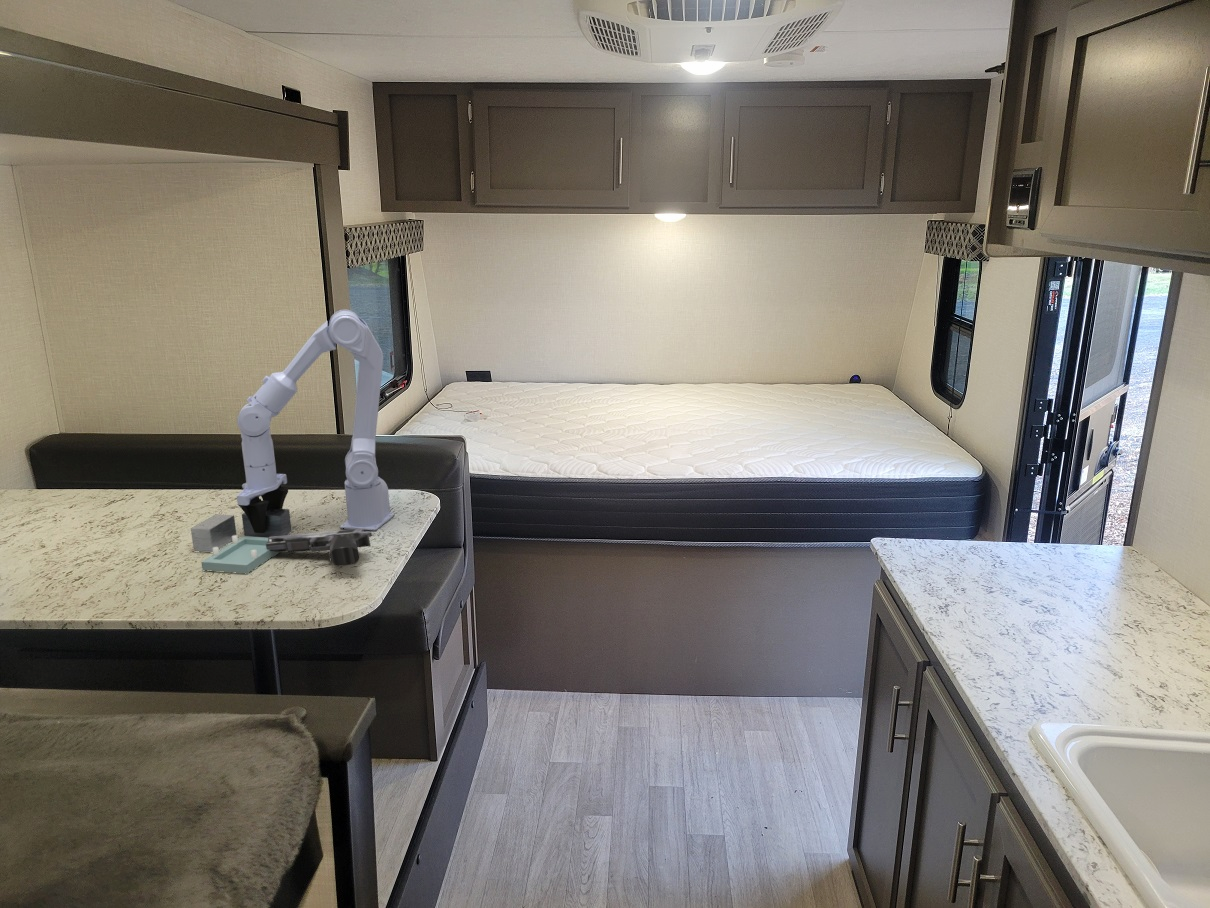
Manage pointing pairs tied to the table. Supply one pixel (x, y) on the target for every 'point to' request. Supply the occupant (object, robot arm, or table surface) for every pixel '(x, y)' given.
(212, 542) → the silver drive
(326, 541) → the handgun
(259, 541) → the tray
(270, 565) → the table surface
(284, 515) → the dark grey rectangular block
